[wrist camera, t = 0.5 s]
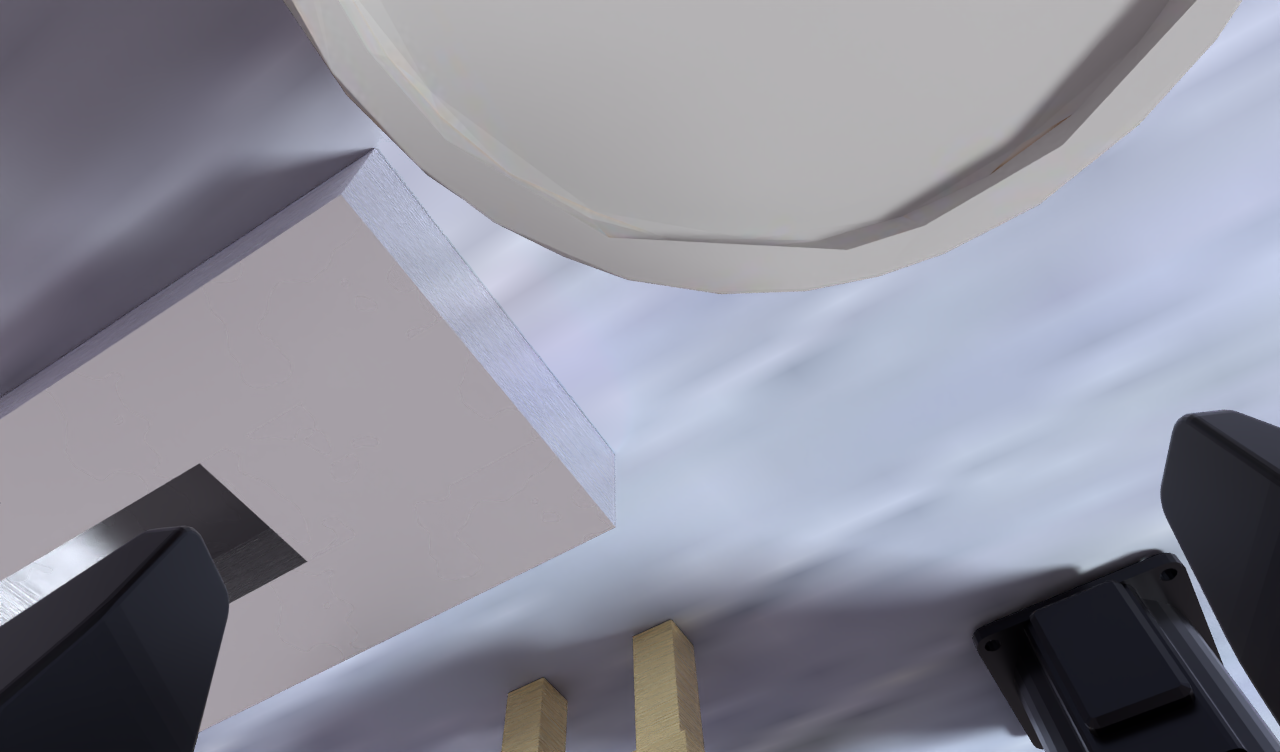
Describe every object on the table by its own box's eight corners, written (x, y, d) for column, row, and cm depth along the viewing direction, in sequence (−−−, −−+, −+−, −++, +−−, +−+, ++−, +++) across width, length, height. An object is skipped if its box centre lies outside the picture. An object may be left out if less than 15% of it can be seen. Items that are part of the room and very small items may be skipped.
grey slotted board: (614, 454, 25) (615, 527, 22) (16, 763, 30) (-38, 848, 28) (375, 148, 20) (341, 194, 17) (-274, 581, 26) (-371, 663, 23)
